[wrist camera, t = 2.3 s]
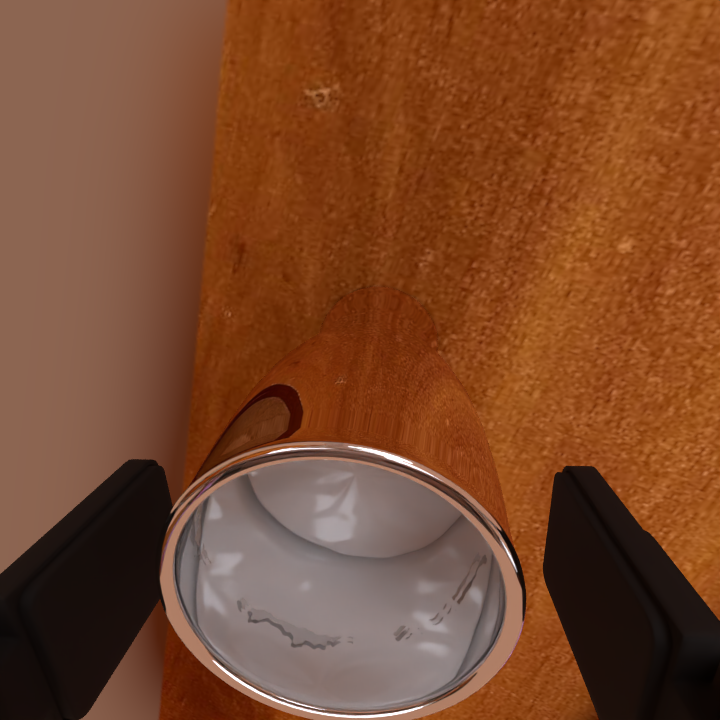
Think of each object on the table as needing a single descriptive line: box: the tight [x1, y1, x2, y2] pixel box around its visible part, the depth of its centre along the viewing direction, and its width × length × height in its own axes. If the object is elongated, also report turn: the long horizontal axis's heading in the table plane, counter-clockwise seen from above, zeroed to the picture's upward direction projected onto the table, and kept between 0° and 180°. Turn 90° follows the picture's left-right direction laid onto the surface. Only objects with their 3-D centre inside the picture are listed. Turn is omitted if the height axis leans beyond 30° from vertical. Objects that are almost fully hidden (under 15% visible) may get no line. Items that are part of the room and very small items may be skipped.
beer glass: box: [155, 287, 526, 720], centre depth 14 cm, size 7×7×15 cm
